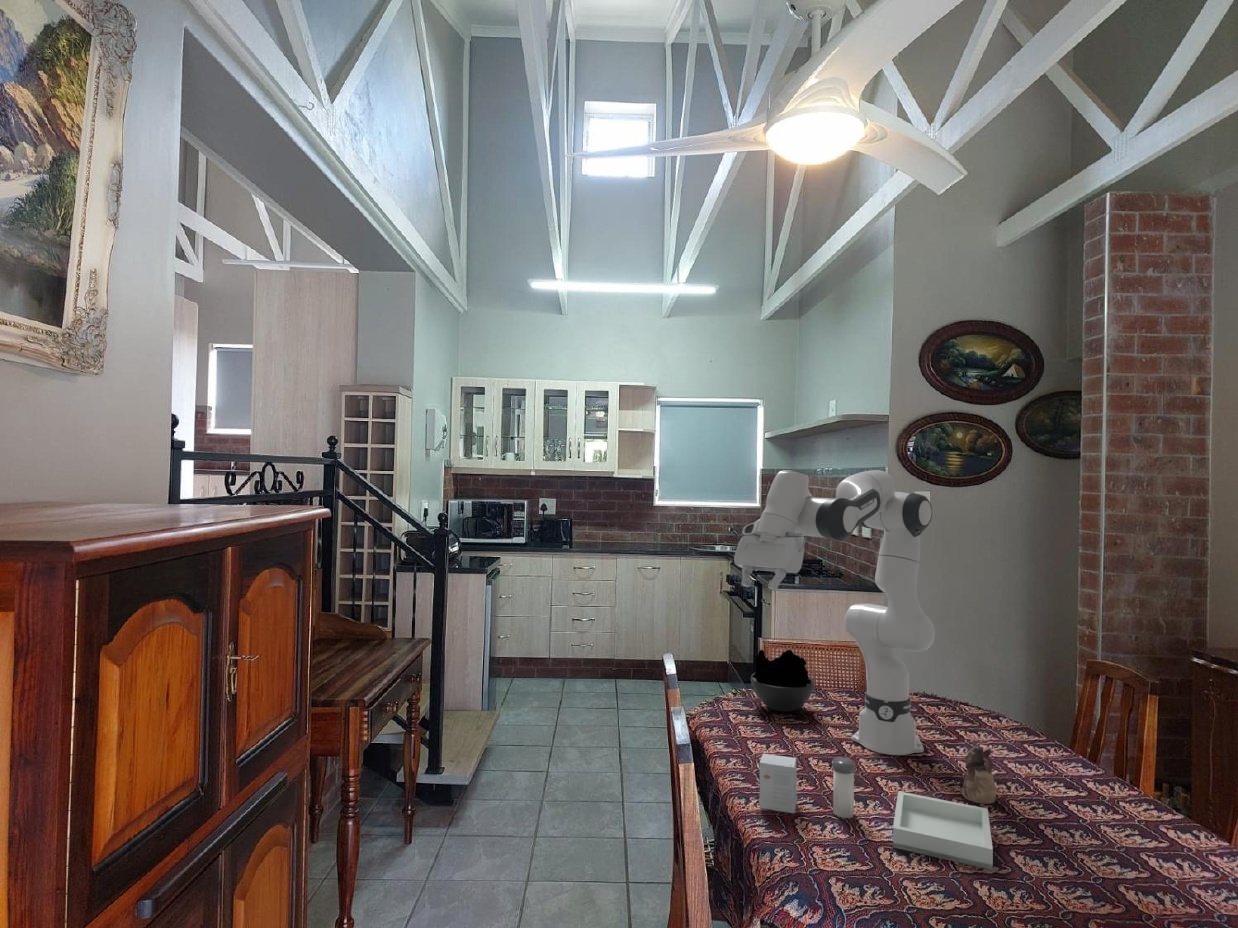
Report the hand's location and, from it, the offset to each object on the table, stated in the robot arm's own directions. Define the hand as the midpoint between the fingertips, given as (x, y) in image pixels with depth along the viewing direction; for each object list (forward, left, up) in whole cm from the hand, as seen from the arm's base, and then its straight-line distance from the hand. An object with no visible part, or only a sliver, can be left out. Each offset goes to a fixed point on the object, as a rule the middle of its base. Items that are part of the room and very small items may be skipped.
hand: (758, 587), depth 158 cm
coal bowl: (-66, -8, -50) cm, 84 cm away
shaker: (-4, +19, -50) cm, 53 cm away
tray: (-3, +39, -50) cm, 63 cm away
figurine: (-27, +47, -50) cm, 74 cm away
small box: (-1, +5, -50) cm, 50 cm away
